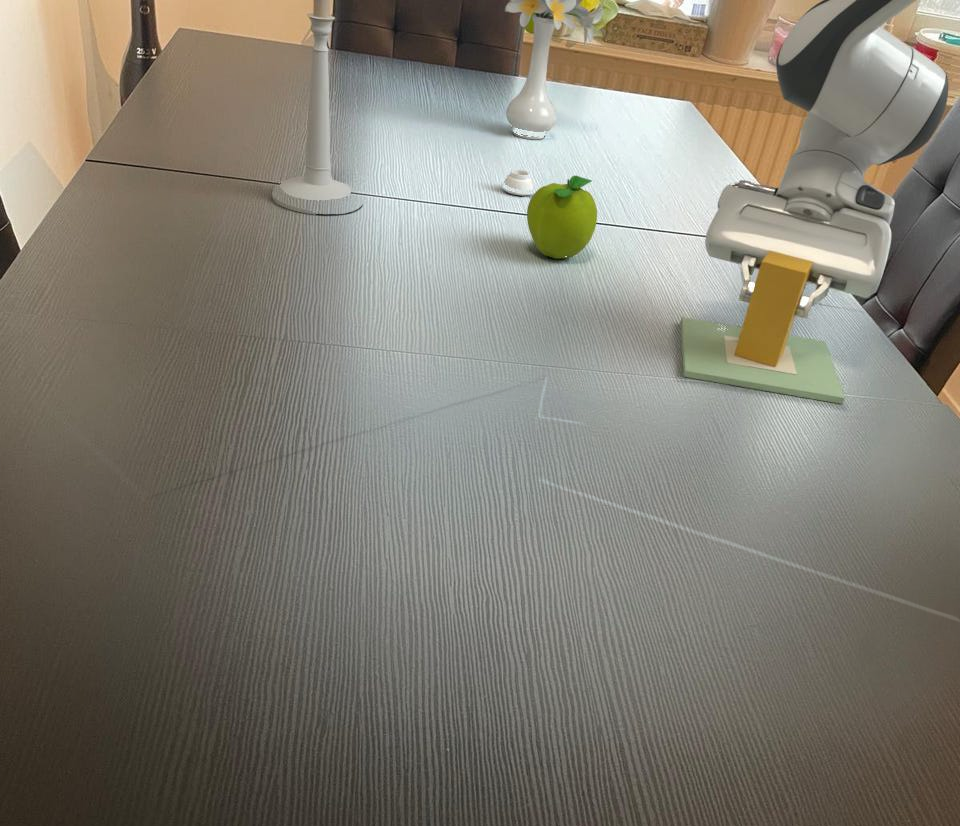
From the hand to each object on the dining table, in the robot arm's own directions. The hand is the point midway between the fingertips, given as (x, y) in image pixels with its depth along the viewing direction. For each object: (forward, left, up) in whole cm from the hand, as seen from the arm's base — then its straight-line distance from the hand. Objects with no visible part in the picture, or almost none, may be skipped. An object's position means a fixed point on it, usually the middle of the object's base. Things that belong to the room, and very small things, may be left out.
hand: (773, 307), depth 116 cm
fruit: (+26, -26, -7) cm, 37 cm away
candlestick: (+61, -32, -7) cm, 69 cm away
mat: (0, -1, -7) cm, 7 cm away
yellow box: (0, -1, -6) cm, 6 cm away
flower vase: (+35, -89, -7) cm, 95 cm away
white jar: (+34, -52, -7) cm, 62 cm away
